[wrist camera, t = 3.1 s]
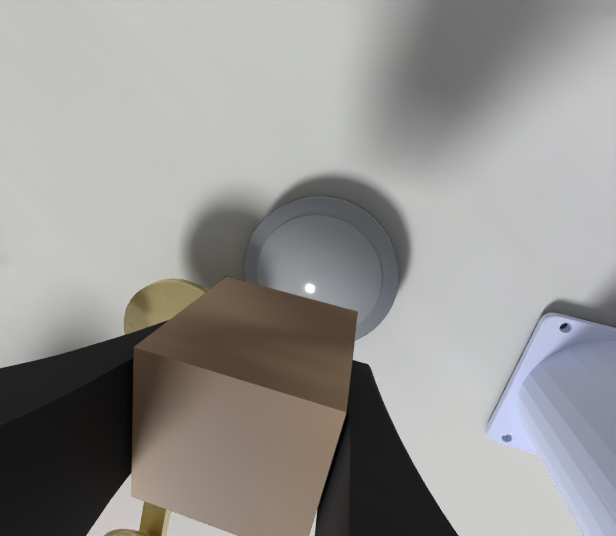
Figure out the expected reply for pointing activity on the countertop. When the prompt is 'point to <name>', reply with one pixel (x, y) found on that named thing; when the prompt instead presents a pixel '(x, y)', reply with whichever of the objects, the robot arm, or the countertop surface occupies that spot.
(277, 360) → the block
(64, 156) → the countertop surface
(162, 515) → the balance
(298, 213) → the dish
